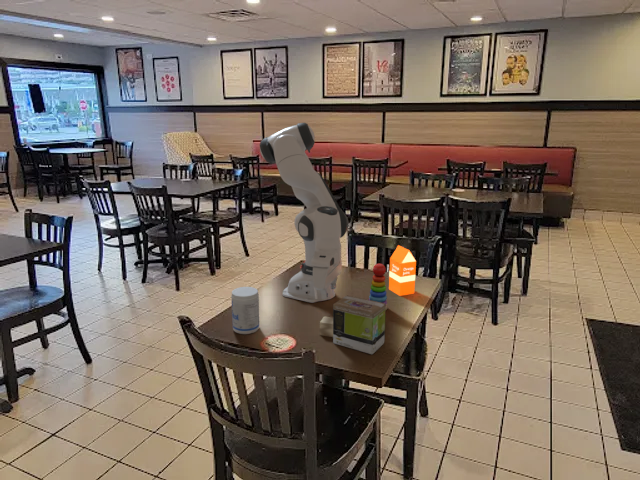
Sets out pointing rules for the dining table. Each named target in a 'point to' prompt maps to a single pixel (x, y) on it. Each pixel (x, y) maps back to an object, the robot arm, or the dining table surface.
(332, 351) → the dining table surface
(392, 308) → the dining table surface
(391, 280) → the orange juice
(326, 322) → the birch cube
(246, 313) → the supplement tub
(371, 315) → the tea box
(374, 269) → the stacking toy
